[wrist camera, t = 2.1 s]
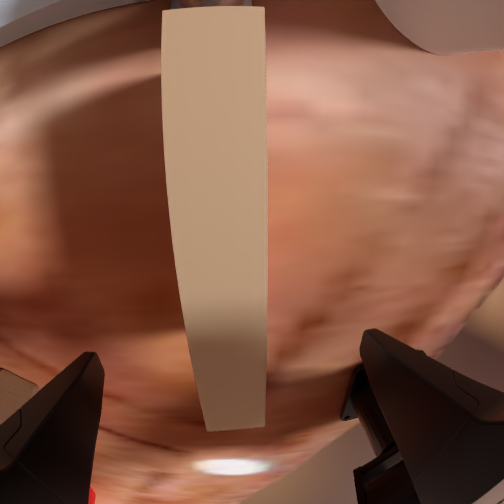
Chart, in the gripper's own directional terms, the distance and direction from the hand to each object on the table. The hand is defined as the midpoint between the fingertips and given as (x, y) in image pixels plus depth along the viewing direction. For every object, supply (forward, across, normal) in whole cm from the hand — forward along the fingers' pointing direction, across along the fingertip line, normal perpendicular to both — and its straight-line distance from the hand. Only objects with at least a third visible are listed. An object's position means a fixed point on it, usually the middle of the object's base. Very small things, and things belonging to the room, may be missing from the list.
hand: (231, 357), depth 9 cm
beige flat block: (+6, 0, -3) cm, 7 cm away
